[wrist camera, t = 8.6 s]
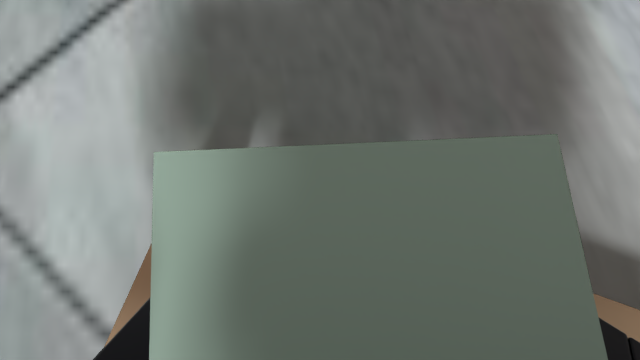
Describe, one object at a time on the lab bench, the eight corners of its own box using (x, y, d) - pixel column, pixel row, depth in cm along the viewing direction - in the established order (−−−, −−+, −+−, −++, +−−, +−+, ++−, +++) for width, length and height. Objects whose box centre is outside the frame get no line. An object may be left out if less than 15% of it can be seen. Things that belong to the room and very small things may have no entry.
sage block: (387, 384, 15) (664, 608, 4) (248, 397, 14) (141, 689, 4) (372, 246, 16) (556, 133, 5) (244, 255, 15) (153, 152, 5)
